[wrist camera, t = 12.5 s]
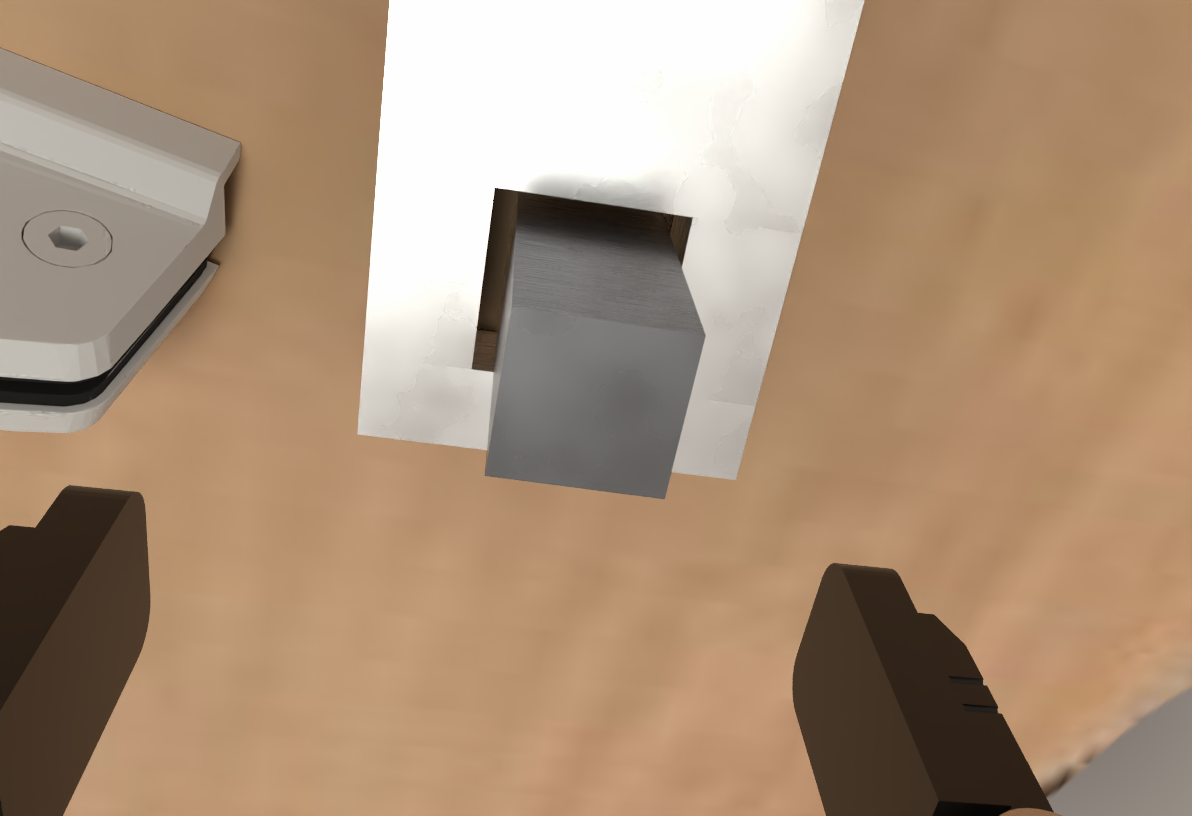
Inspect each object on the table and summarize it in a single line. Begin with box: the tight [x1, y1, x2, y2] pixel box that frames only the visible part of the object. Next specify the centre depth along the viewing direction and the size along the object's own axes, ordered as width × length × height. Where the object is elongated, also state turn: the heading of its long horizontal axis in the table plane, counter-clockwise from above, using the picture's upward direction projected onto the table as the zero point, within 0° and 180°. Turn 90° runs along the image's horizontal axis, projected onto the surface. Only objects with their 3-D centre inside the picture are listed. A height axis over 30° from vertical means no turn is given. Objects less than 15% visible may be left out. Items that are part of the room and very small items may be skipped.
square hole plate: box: [358, 0, 865, 480], centre depth 31 cm, size 15×12×3 cm
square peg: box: [485, 191, 706, 499], centre depth 29 cm, size 4×4×10 cm
